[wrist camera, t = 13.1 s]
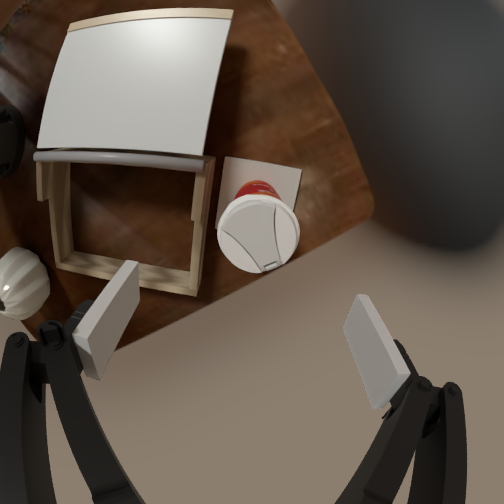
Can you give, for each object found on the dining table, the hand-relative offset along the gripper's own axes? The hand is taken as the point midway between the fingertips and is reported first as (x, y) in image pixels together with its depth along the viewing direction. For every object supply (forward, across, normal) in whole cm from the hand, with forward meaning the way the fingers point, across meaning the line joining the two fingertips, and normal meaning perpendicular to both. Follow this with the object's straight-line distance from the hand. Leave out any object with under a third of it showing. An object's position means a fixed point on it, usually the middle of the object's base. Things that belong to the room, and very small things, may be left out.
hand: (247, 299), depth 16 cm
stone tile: (+27, +1, -1) cm, 27 cm away
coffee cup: (+26, +1, -1) cm, 27 cm away
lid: (+23, -19, +14) cm, 33 cm away
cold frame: (+27, -19, -6) cm, 33 cm away
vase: (+28, -44, -22) cm, 56 cm away
